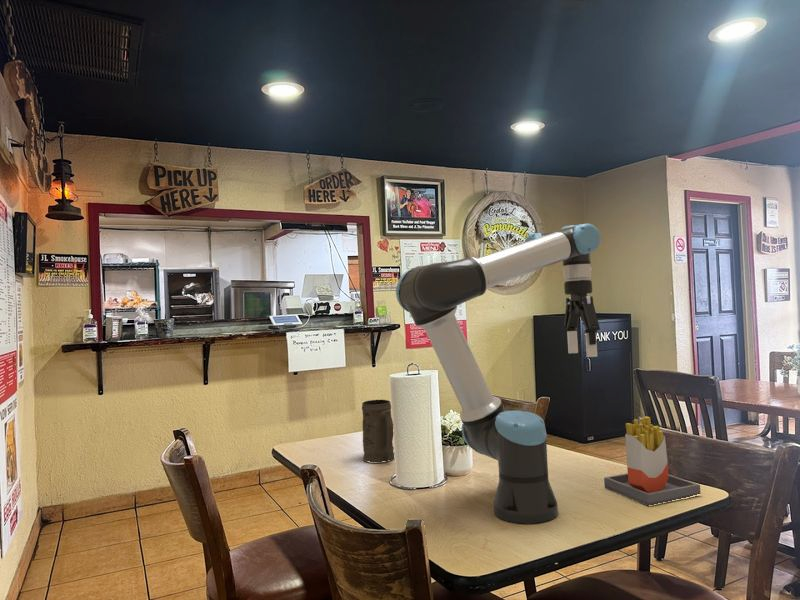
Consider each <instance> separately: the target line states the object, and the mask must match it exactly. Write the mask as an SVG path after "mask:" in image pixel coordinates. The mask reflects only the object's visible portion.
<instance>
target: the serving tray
mask: <svg viewBox="0 0 800 600" xmlns="http://www.w3.org/2000/svg"><path fill="white" fill-rule="evenodd" d="M668 475H669V478H668V480H667V482H666V484H665V486H664V489H663V490H660V491H658V492H653V493H646V492H644V491H641V490H639V489H636V488H633V487H632V486H631V485H630V484H629V483H628V472H626V473H620V474H617V475H616V474H615V475H611V476H604V478H603V479H604V480H603V482H604V483H603V484H604V489H606V490H609V491H611V492H613V491H614V492H613V493H615V492H616V494H618V495H620V494H621V495H620V496H623V497H625V496H626V497H625V498H627V497H628V499H630V498H631V500H632V499H633V501H635V500H636V501H635V502H637V501H638V502H637V503H639V502H641V503H640V504H642V503H644V504H646V505H654V504H658V503H663V502H668V501H672V500H676V499H681V498H686V497H690V496H693V495H697V494H701V485H700V484H699V483H696V482H693V481H690V480H687V479H684V478H681V477H677V476H675V475H672V474H669V473H668ZM701 495H702V494H701ZM644 504H643V505H644ZM646 505H645V506H646Z"/></svg>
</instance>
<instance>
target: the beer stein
mask: <svg viewBox="0 0 800 600" xmlns="http://www.w3.org/2000/svg"><path fill="white" fill-rule="evenodd" d="M361 411H362V449H363V458H362V459H364V460H366V461H370V462H382V461H388V460H392V459H394V455H395V451H394V449H395V448H394V446H393V440H394V432H393V429H394V422H393V417H392V405H391V401H390V400H388V399H387V400H386V399H372V400H366V401H364V402H362V405H361ZM364 460H363V461H364ZM394 460H395V459H394ZM392 461H393V460H392Z"/></svg>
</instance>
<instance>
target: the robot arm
mask: <svg viewBox="0 0 800 600" xmlns="http://www.w3.org/2000/svg"><path fill="white" fill-rule="evenodd" d="M600 244H601V235H600V231H599V229H598V228H597V227H596V226H595V225H593V224H592V223H583V224H582V223H579V224H576V225H575V224H574V225H573V224H572V225H566V226H563V227H562V228H560V229H556V230H552V231H548V232H536V233H535V232H531V233H530V234H528V235H527V236H526V238H525V240H524V242H523V243H519V244H516V245H514V246H511V247H508V248H505V249H502V250H499V251H496V252H493V253H490V254H488V255H483V256H481V257H477V258H476V257H474V256H466V257H464V258H461V259H457V260H451V261H445V262H444V261H443V262H436V263H430V264H427V265H420V266H418V265H417V266H416V267H415V266H414V267H413V268H411V269H408V270H407V271H406V272H404V273H403V274H401V276H400V277H399V279H398V282H396V283H397V284H396V287H395V295H396V300H397V302H398V304H399V306H400V307H401V308H402V309H403V310H404V311H406V312H408V313H409V314H410V316H411V319H412V321H413V322H414V325H415V327H418V328H419V329H420V328H421V329H423V330H424V332H425V333H426V335H427V338H428V340H429V342H430V344H431V346H432V349H433V350H434V352H435V354H436V357H437V359H438V360H439V363H440V364H441V367H442V369H443V371H444V373H445V376H446V378H447V380H448V382H449V385H450V386H451V388H452V390H453V392H454V394H455V396H456V400H458V403H459V405H460V407H461V412H460V415H459V418H460V420H461V422H462V426H461V433H462V437H463V439H464V442H465V443H466V445H467V446H468V447H469V448H471V449H472V450H473V451H475V452H476V453H477V454H480V455H484V456H486V457H489V458H490V459H494V460H496V461H497V463H498V478H499V479H498V483H497V487H496V491H495V495H494V499H493V502H492V503H493V505H492V506H493V514H494V515H495V516H496V518H499V519H500V520H503V521H506V522H511V523H516V524H539V523H545V522H548V521H551V520H554V519H555V518H556V517H557V516H558V515H559V512H558V511H559V510H558V509H559V505H558V501H557V499H556V498H557V497H555V493H554V491H553V489H552V486H551V484H550V481H549V480H550V479H549V470H548V469H549V468H548V467H549V466H548V448H547V445H548V444H547V436H548V435H547V431H546V425H545V421H544V419H543V418H542V417H541V416H539V415H538V414H537V413H534V412H530V411H523V410H506V409H505V406H504V404H503V402H502V400H501V399H500V397H497V396H496V395H495V396H494V395H492V393H491V390H490V388H489V386H488V384H487V382H486V379H485V377H484V376H483V373H482V371H481V368H480V367H479V365H478V363H477V360H476V358H475V355H474V354H473V351H472V349H471V347H470V346H469V343H468V340H467V339H466V336H465V334H464V332H463V330H462V327H461V325H460V324H459V322H458V319H457V318H456V315H455V314H456V312H457V309H458V306H459V305H461V304H464V303H466V302H468V301H470V300H473V299H476V298H478V297H481V296H483V295H485V294H486V292H487V290H488V289H489V288H493V287H495V286H498V285H501V284H504V283H506V282H509V281H512V280H514V279H515V280H516V279H517V278H519V277H520V278H521V277H523V276H526V275H528V274H531V273H533V272H535V271H540V270H541V269H543V268H547V267H549V266H553V265H555V264H558V263H561V262H562V272H563V273H562V274H563V275H562V276H563V280H565V282H564V284H563V287H564V294H565V295H567V296H568V295H570V297H566V298H565V313H564V320H563V329H565V330H566V331H565V332H567V333H566V336H567V350H568V351H567V353H568V354H578V353H579V343H578V341H579V340H578V328H577V327H578V326H577V325H578V321H579V319H580V318H579V317H581V321H582V322H583V325H584V328H585V330H584V333H583V334H584V335H585V351H586V358H594V357H597V358H598V342H597V332H598V331H600V330H601V327H600V323H599V319H598V316H597V313H596V309H595V305H594V298H593V296H591V295H590V296H588V294H592V293H593V281H592V280H590V279H591V278H592V271H593V268H592V267H591V253H593V252H596V250H597V249H598V248H599V246H600Z"/></svg>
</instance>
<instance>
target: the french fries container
mask: <svg viewBox="0 0 800 600" xmlns="http://www.w3.org/2000/svg"><path fill="white" fill-rule="evenodd" d="M625 429H626V431H625V432H626V433H625V434H624V436H625V437H624V438H625V451H626V452H625V453H626V467H627V473H628V483H629V484H630V485H631V486H632V487H633V488H636V489H639V490H641V491H644V492H646V493H653V492H658V491H660V490H663V489H664V486H665V484H666V482H667V480H668V478H669V475H670V474H669V462H668V452H667V444H666V436H665V435H664V432H663V431H662V430H660V425H654V424H652V422H651V417H650V416H644V417H642V418H640V423H639V419H633V423H630V422H626V423H625ZM668 474H669V475H668Z"/></svg>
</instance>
